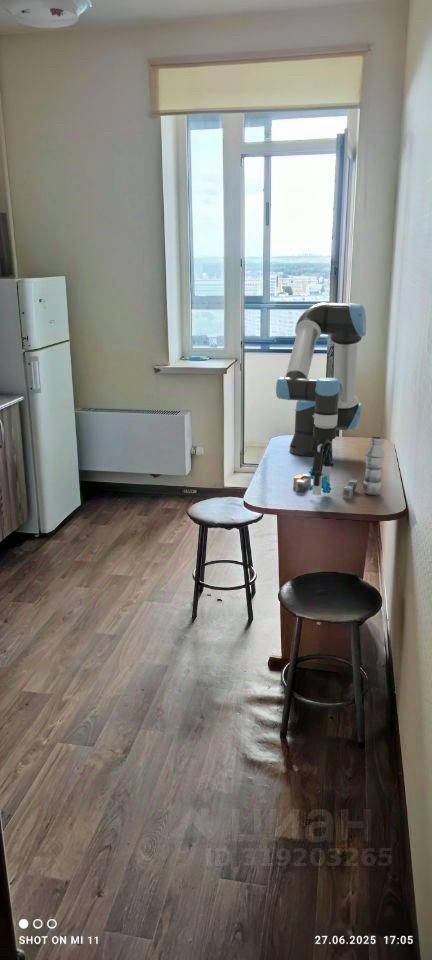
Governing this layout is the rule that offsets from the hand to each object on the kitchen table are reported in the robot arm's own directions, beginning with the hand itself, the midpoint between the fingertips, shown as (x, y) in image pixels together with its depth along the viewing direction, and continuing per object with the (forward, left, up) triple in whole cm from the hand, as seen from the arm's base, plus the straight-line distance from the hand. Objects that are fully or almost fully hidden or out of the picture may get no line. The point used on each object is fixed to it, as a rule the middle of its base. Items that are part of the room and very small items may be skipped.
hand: (321, 489), depth 229 cm
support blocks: (-8, 0, -3) cm, 9 cm away
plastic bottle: (-12, +15, -3) cm, 19 cm away
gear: (0, 0, -1) cm, 1 cm away
